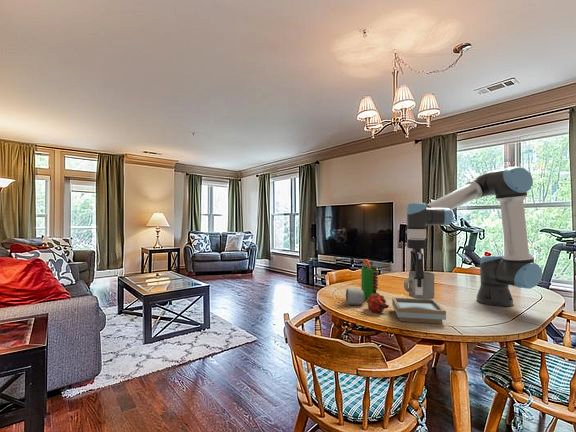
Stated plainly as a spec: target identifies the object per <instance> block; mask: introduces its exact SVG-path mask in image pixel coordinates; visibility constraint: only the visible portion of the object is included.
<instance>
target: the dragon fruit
mask: <svg viewBox="0 0 576 432" xmlns="http://www.w3.org/2000/svg"><path fill="white" fill-rule="evenodd" d="M366 302H367V307H368V308H367V309H368V310H371V311H373V313H375V314H379V311H380V312H384V311H385V309H388V308H389V307H390V304H388V302H387V300H386V299H385V297H384V295H381V294H380V293H378V292H376V293H373V294H371V295H370V296H369V297H368V300H367V299H366Z"/></svg>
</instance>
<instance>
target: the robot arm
mask: <svg viewBox="0 0 576 432" xmlns="http://www.w3.org/2000/svg"><path fill="white" fill-rule="evenodd" d="M533 185H534V179H533V176H532V174H531V173H530V171H529V170H527V169H526V168H524V167H523V166H510V167H505V168H501V169H496V170H490V171H487V172H485V173H483V174H480V175H478V176H477V177H475V178H473V179H470V180H469V181H467V182H466V183H465V185H463V186H461V187H459V188H458V189H455V190H454V191H451V192H450V193H447V194H445V195H443V196H441V197H439V198H437V199H435V200H434V201H431V202H429V203H428V204H426V203H425V202H410V203H408V204H407V208H406V228H407V229H406V230H405V234H407V240H406V246H407V249H411V250H410V263H409V264H410V268H409V272H411V271H415V273H416V277H414V279H415V295H423V279H424V254H423V252H422V250H424V249H426V248H427V240H426V239H427V226H447V225H451V224H452V222H453V221H454V213H453V210H454V209H456V208H459V207H460V206H462V205H464V204H466V203H469V202H470V201H472V200H479V199H481V198H484V197H489V196H495V200H496V201H498V202H499V204H500V214H501V221H502V223H501V224H502V231H503V233H502V234H503V241H504V251H505V252H504V255H487V256H486V255H484V256H481V257H480V262H479V267H480V268H479V271H480V272H479V273H480V285H479V288H478V291H477V294H476V301H477V302H478V303H481V304H484V305H490V306H496V307H510V306H511V307H512V306H513V305H514V299H513V298H514V297H513V296H512V293H511V290H510V288H509V287H510V286H513V287H516V288H519V289H528V290H529V289H533V288H535V287H537V286H538V285H539V283H540V282H541V281H542V278H543V269H542V267H541V266H540V265H539V264H537V263H536V262H535V258H534V256H533V255H532V254H530V253H529V252H530V250H529V245H528V244H529V241H528V232H527V221H526V213H525V203H524V200H525V199H526V198H527V197H528V192H529V191H530V190H531V189H532V187H533Z"/></svg>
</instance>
